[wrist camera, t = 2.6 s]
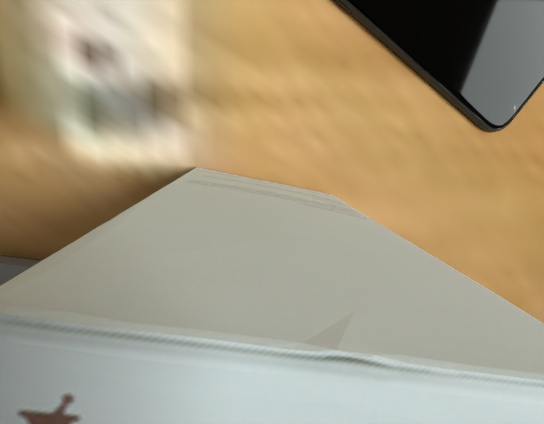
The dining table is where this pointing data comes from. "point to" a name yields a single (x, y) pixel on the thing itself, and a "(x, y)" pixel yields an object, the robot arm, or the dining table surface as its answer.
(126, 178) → the dining table surface
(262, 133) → the dining table surface
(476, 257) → the dining table surface
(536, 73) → the smartphone
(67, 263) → the supplement box
